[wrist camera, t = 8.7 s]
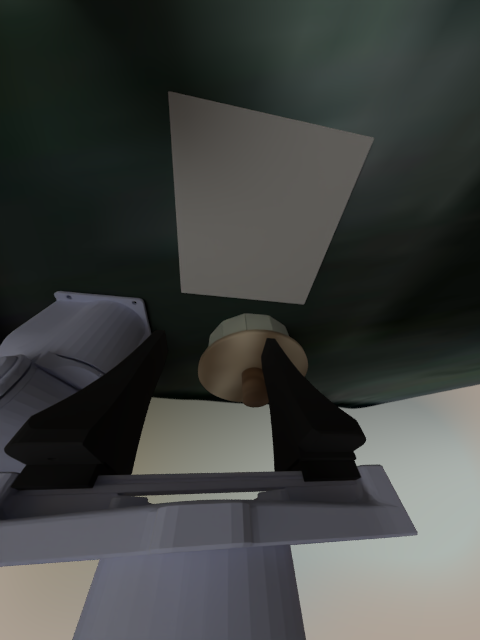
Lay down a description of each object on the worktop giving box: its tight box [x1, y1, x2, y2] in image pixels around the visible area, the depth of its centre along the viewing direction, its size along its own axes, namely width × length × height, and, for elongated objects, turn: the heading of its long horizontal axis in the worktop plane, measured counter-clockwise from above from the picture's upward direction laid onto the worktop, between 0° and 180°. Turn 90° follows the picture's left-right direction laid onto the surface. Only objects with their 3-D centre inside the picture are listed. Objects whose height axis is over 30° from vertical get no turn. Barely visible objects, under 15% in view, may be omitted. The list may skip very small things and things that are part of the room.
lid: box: [198, 329, 308, 407], centre depth 22 cm, size 14×14×4 cm
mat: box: [168, 91, 374, 304], centre depth 17 cm, size 15×15×1 cm
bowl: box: [209, 313, 289, 346], centre depth 26 cm, size 12×12×4 cm
